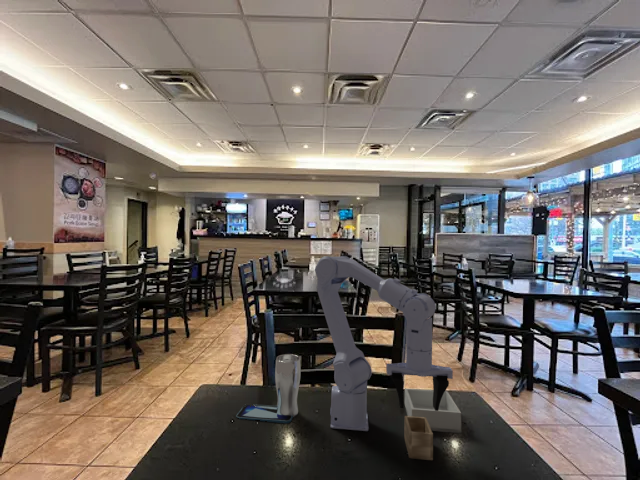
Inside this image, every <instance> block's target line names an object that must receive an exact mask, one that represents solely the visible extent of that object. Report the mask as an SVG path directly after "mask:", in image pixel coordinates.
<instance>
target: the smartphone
mask: <svg viewBox="0 0 640 480" xmlns="http://www.w3.org/2000/svg"><path fill="white" fill-rule="evenodd" d="M245 405H246V404H245ZM254 405H255V406H256V407H255V406H254ZM243 406H244V405H243ZM276 409H277V405H270V404H269V405H267V404H254V403H253V406H252V405H251V407H250V405H246V407H245V406H244V408H243V407H241V409H240V410H239V411H238V412H237V414H235V415H236V416H235V418H236V417H237V418H239V419H238V420H245V419H247V420H246V421H255V420H260V421H259V422H265V421H267V422H266V423H274V424H275V423H277V424H290V423H291V422H292V420H293V418H294V417H293V415H292V416H280V415H278V414H277V413H276ZM237 418H236V419H237Z"/></svg>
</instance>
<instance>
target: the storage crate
mask: <svg viewBox="0 0 640 480" xmlns="http://www.w3.org/2000/svg"><path fill="white" fill-rule="evenodd" d="M404 408H405V411H406V416H415V417H426V419H427V421H428V424H429V426H430V428H431V431H432V432H443V433H454V434H462V412H461V410H460V408H459V407H458V406H457V404H456V403H455V401H454V399H453V397H452V396H451V395H450V393H449V391H447V390H445V392H444V394H443V396H442V399H441V401H440V405H439V409H438V411H435V409H434V407H433V389H432V390H431V389H420V388H419V389H418V388H404Z"/></svg>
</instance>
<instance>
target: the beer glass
mask: <svg viewBox="0 0 640 480" xmlns="http://www.w3.org/2000/svg"><path fill="white" fill-rule="evenodd" d="M274 370H275V372H274V376H275V378H274V381H275V386H276V387H275V388H276V389H275V390H276V394H277V404H276V406H277V409H276V413H277V414H278V415H280V416H292V415H293V418H295V417H297V415H298V414H299V407H298V393H299V387H300V384H301V383H300V381H301V357H300V356H299V355H296V354H293V353H285V354H280V355H278V356H276V360H275V369H274Z"/></svg>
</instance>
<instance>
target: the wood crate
mask: <svg viewBox="0 0 640 480" xmlns="http://www.w3.org/2000/svg"><path fill="white" fill-rule="evenodd" d="M403 426H404V443H405V447H406V452H407V454H408V458H409V459H413V460H414V459H416V460H426V461H433V460H434V433H433V431H431V428H430V426H429V424H428V421H427V419H426V417H415V416H408V415H404V425H403Z"/></svg>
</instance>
